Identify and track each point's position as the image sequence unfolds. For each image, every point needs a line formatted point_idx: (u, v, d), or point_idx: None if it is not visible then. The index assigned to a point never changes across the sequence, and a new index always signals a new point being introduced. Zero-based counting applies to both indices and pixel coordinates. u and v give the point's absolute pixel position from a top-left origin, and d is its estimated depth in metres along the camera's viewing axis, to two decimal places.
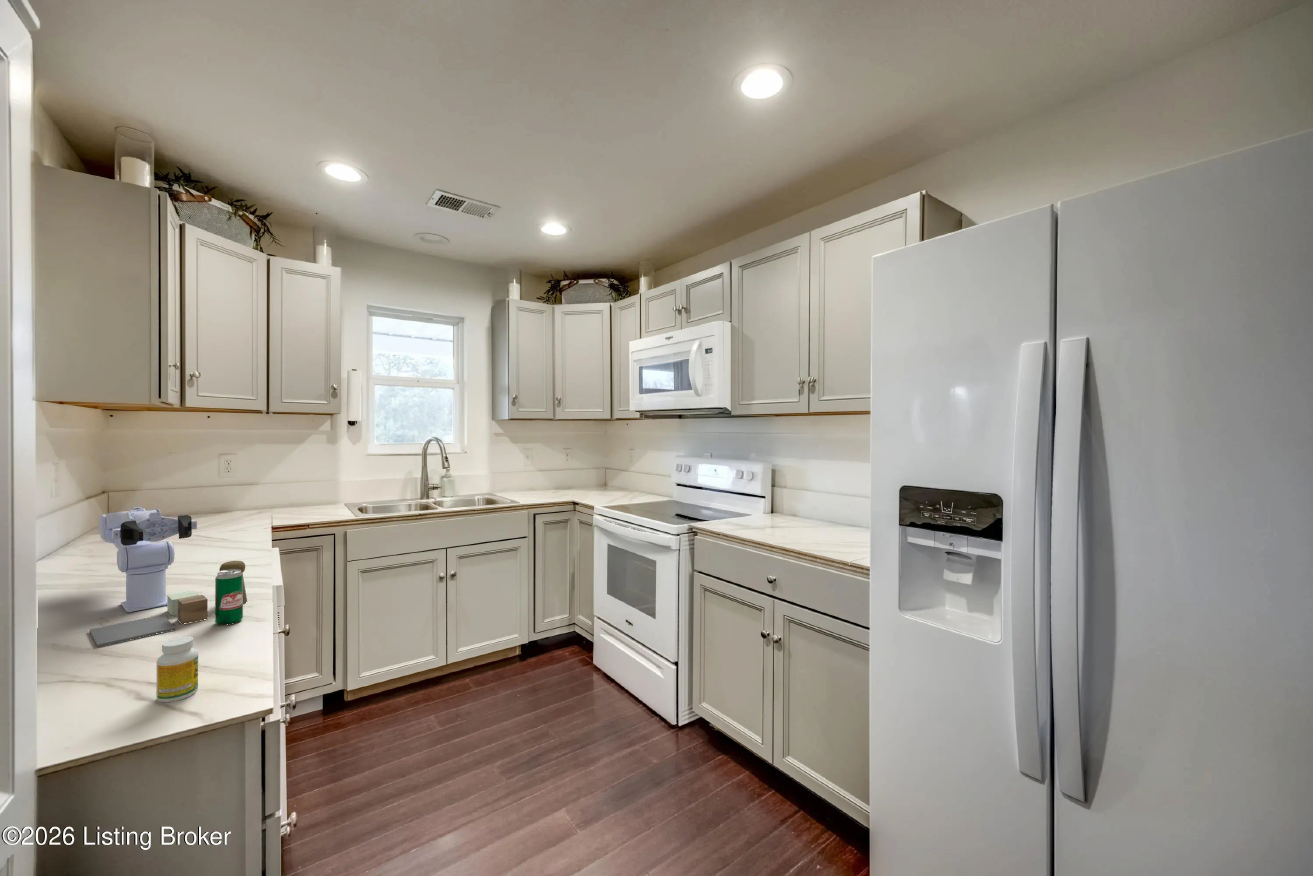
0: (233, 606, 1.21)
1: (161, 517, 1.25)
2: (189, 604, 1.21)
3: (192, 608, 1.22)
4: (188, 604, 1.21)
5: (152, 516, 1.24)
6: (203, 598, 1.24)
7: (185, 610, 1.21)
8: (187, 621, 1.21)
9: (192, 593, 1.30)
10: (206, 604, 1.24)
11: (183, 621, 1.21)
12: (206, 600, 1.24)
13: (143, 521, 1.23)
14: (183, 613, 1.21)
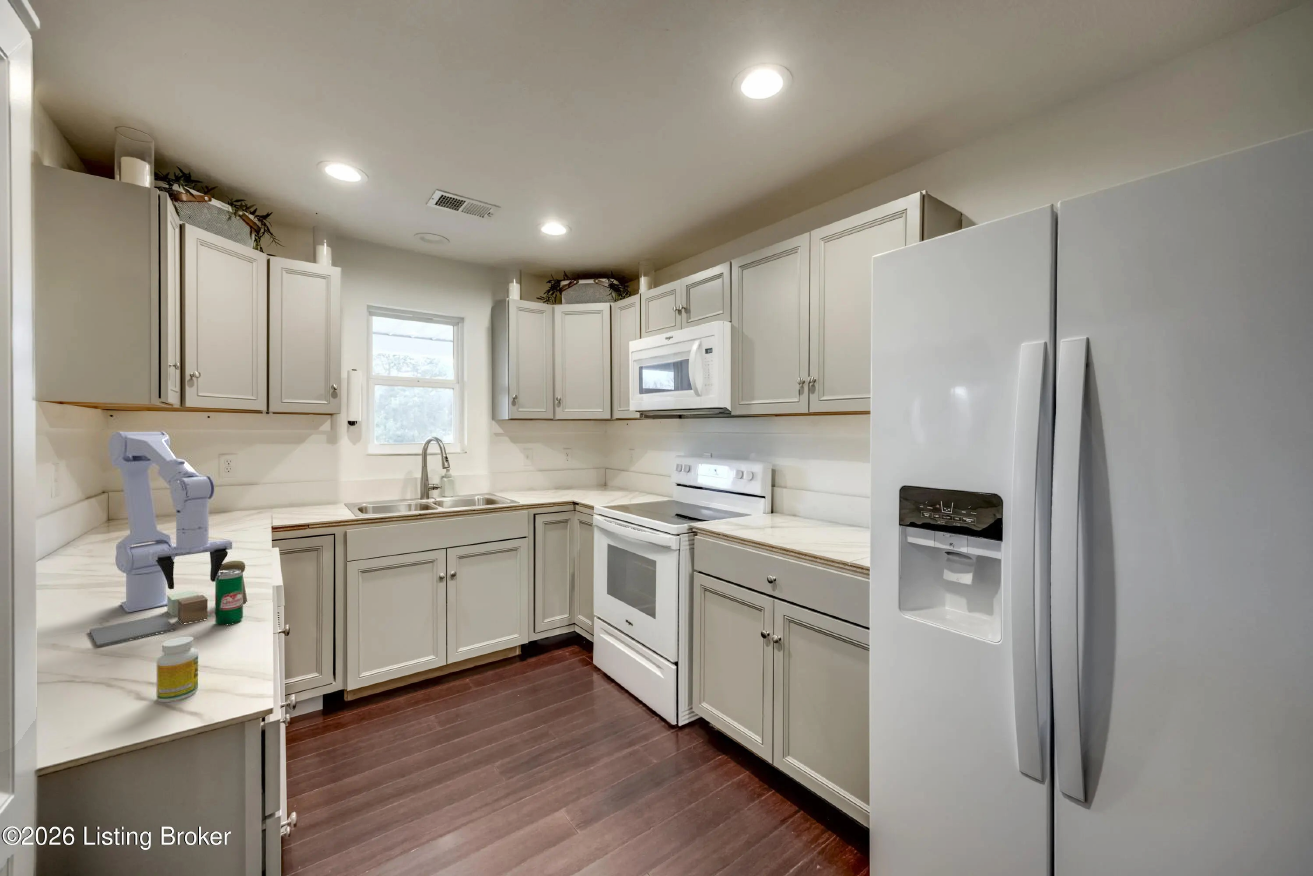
0: (233, 606, 1.21)
1: None
2: (189, 604, 1.21)
3: (192, 608, 1.22)
4: (188, 604, 1.21)
5: (192, 551, 1.21)
6: (203, 598, 1.24)
7: (185, 610, 1.21)
8: (187, 621, 1.21)
9: (192, 593, 1.30)
10: (206, 604, 1.24)
11: (183, 621, 1.21)
12: (206, 600, 1.24)
13: (182, 552, 1.20)
14: (183, 613, 1.21)
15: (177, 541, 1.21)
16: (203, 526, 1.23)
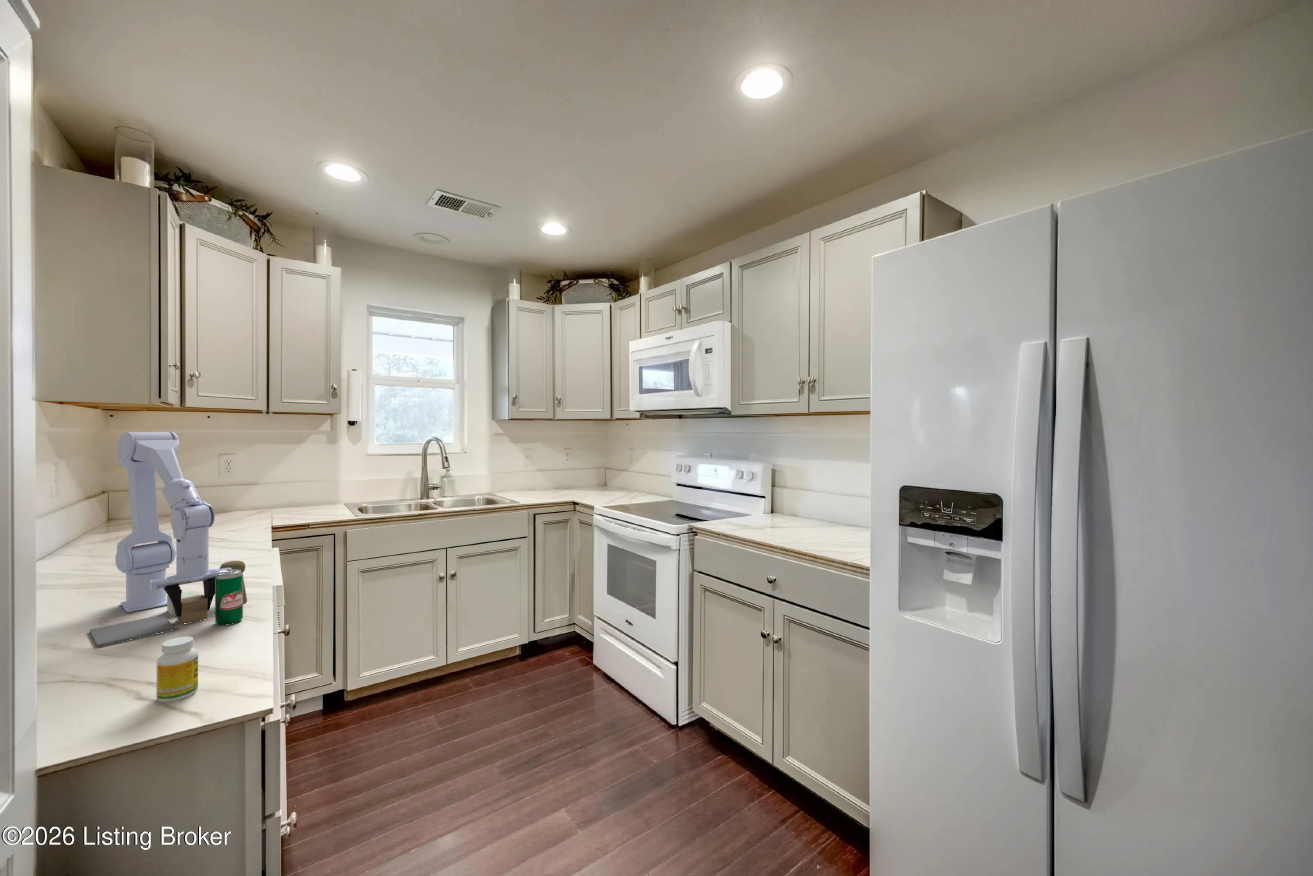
0: (233, 606, 1.21)
1: None
2: (189, 604, 1.21)
3: (192, 608, 1.22)
4: (188, 604, 1.21)
5: (192, 580, 1.21)
6: (203, 598, 1.24)
7: (185, 610, 1.21)
8: (187, 621, 1.21)
9: (192, 593, 1.30)
10: (206, 604, 1.24)
11: (183, 621, 1.21)
12: (206, 600, 1.24)
13: (182, 581, 1.20)
14: (183, 613, 1.21)
15: (177, 570, 1.21)
16: (203, 555, 1.23)
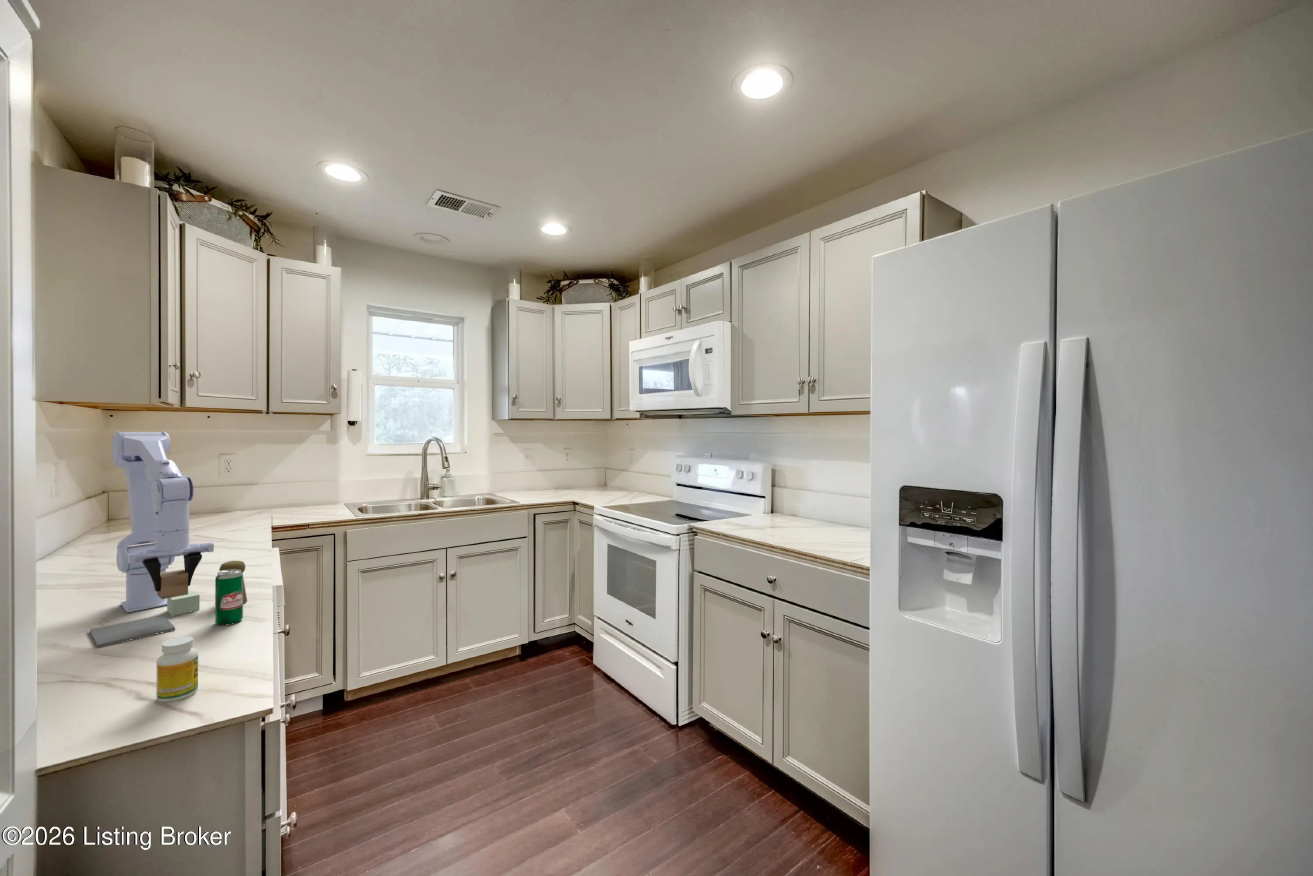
0: (233, 606, 1.21)
1: None
2: (169, 578, 1.19)
3: (172, 582, 1.19)
4: (167, 578, 1.18)
5: None
6: (183, 572, 1.21)
7: (165, 584, 1.18)
8: (167, 595, 1.18)
9: (192, 593, 1.30)
10: (187, 578, 1.21)
11: (162, 595, 1.18)
12: (187, 574, 1.21)
13: (162, 555, 1.18)
14: (162, 587, 1.18)
15: (156, 543, 1.18)
16: (181, 528, 1.20)
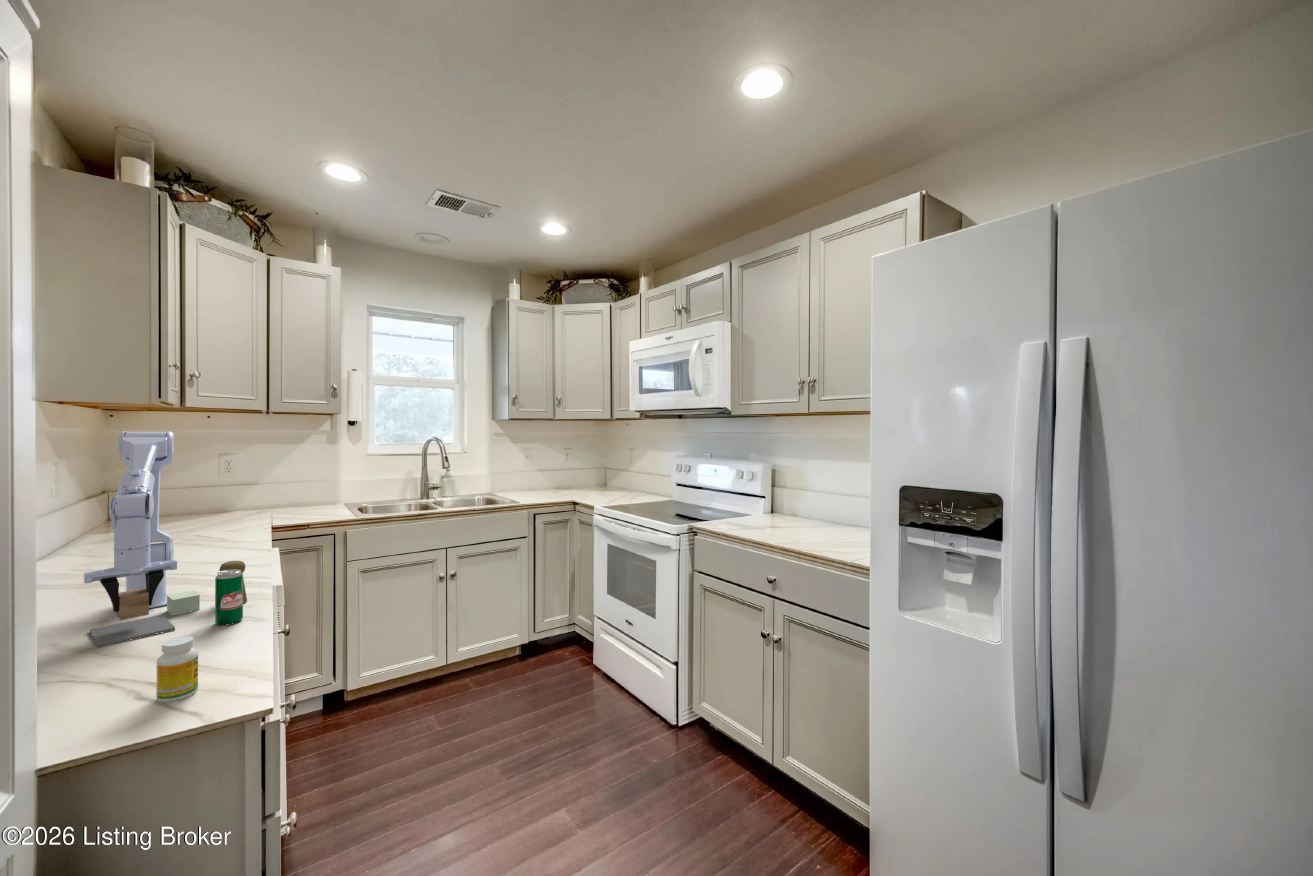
0: (233, 606, 1.21)
1: (141, 571, 1.15)
2: (128, 598, 1.14)
3: (131, 602, 1.14)
4: (126, 598, 1.14)
5: None
6: (144, 592, 1.17)
7: (123, 604, 1.13)
8: (125, 616, 1.14)
9: (192, 593, 1.30)
10: (147, 598, 1.16)
11: (121, 616, 1.13)
12: (147, 594, 1.16)
13: (120, 574, 1.13)
14: (121, 607, 1.13)
15: (115, 562, 1.13)
16: (135, 547, 1.14)
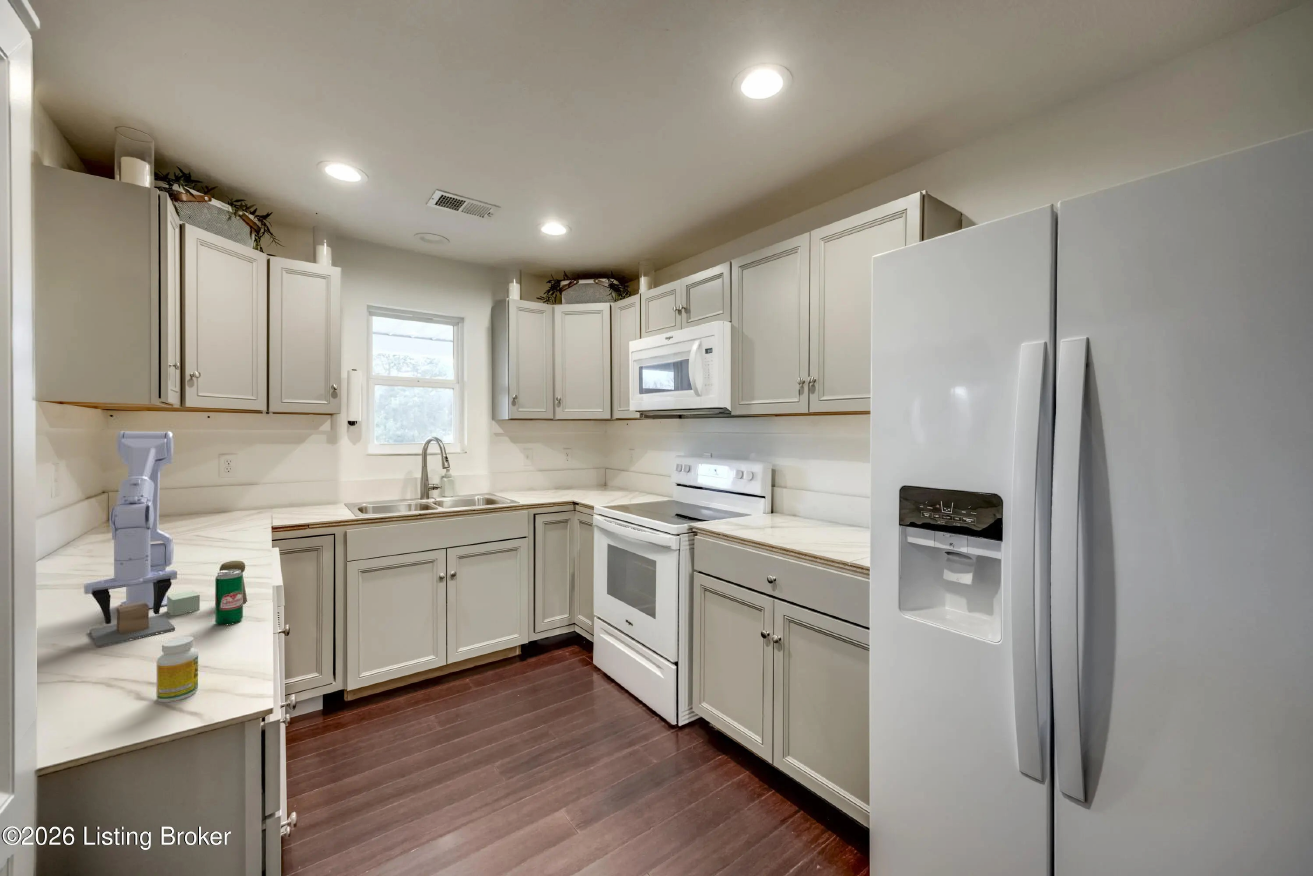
0: (233, 606, 1.21)
1: None
2: (128, 612, 1.14)
3: (131, 616, 1.14)
4: (126, 612, 1.14)
5: (131, 583, 1.14)
6: (144, 605, 1.17)
7: (123, 618, 1.13)
8: (126, 630, 1.14)
9: (192, 593, 1.30)
10: (147, 612, 1.16)
11: (121, 630, 1.13)
12: (147, 607, 1.16)
13: (120, 584, 1.13)
14: (121, 621, 1.13)
15: (115, 573, 1.13)
16: (135, 558, 1.14)
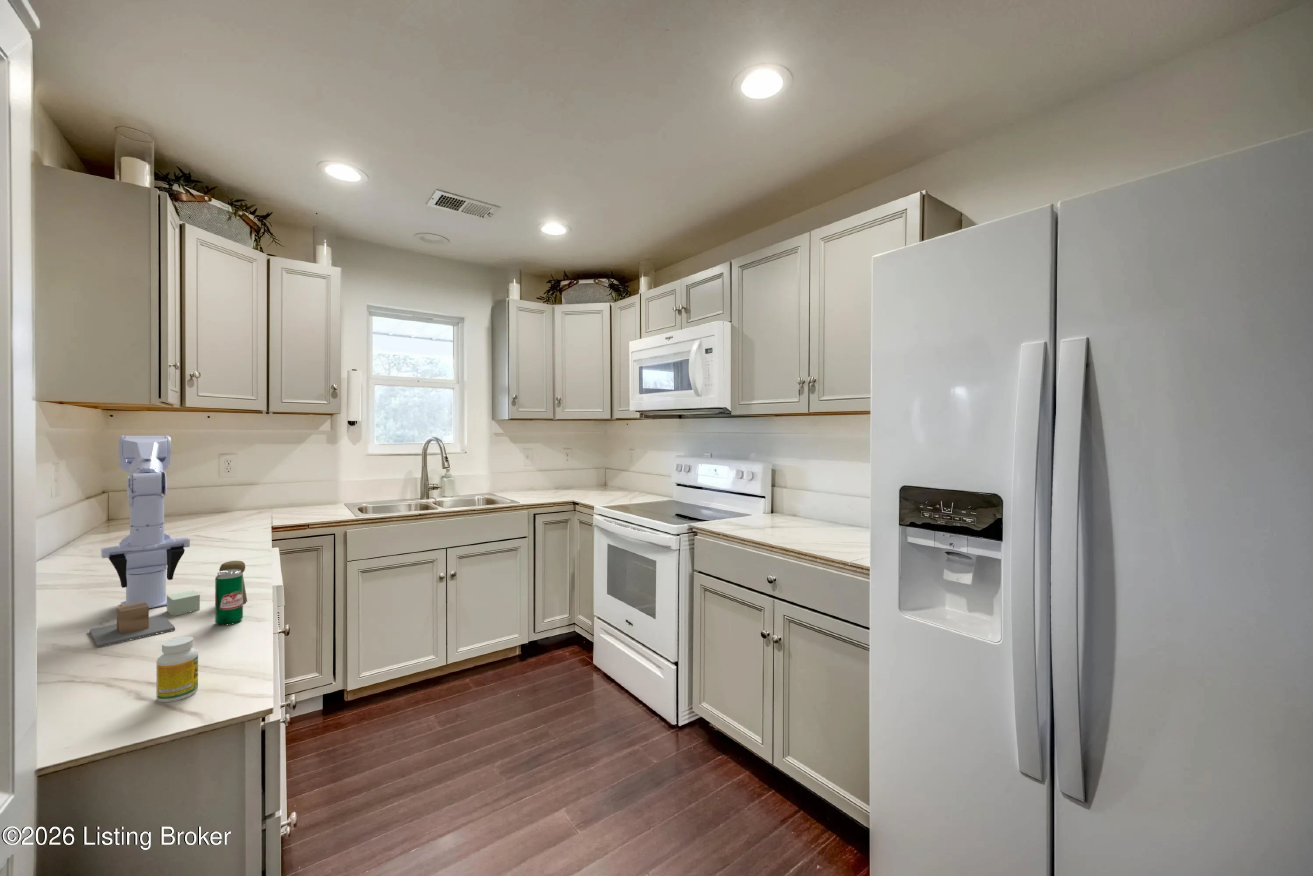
0: (233, 606, 1.21)
1: (155, 547, 1.20)
2: (128, 612, 1.14)
3: (131, 616, 1.14)
4: (126, 612, 1.14)
5: None
6: (144, 605, 1.17)
7: (123, 618, 1.13)
8: (126, 630, 1.14)
9: (192, 593, 1.30)
10: (147, 612, 1.16)
11: (121, 630, 1.13)
12: (147, 607, 1.16)
13: (136, 550, 1.18)
14: (121, 621, 1.13)
15: (130, 538, 1.18)
16: (152, 524, 1.19)
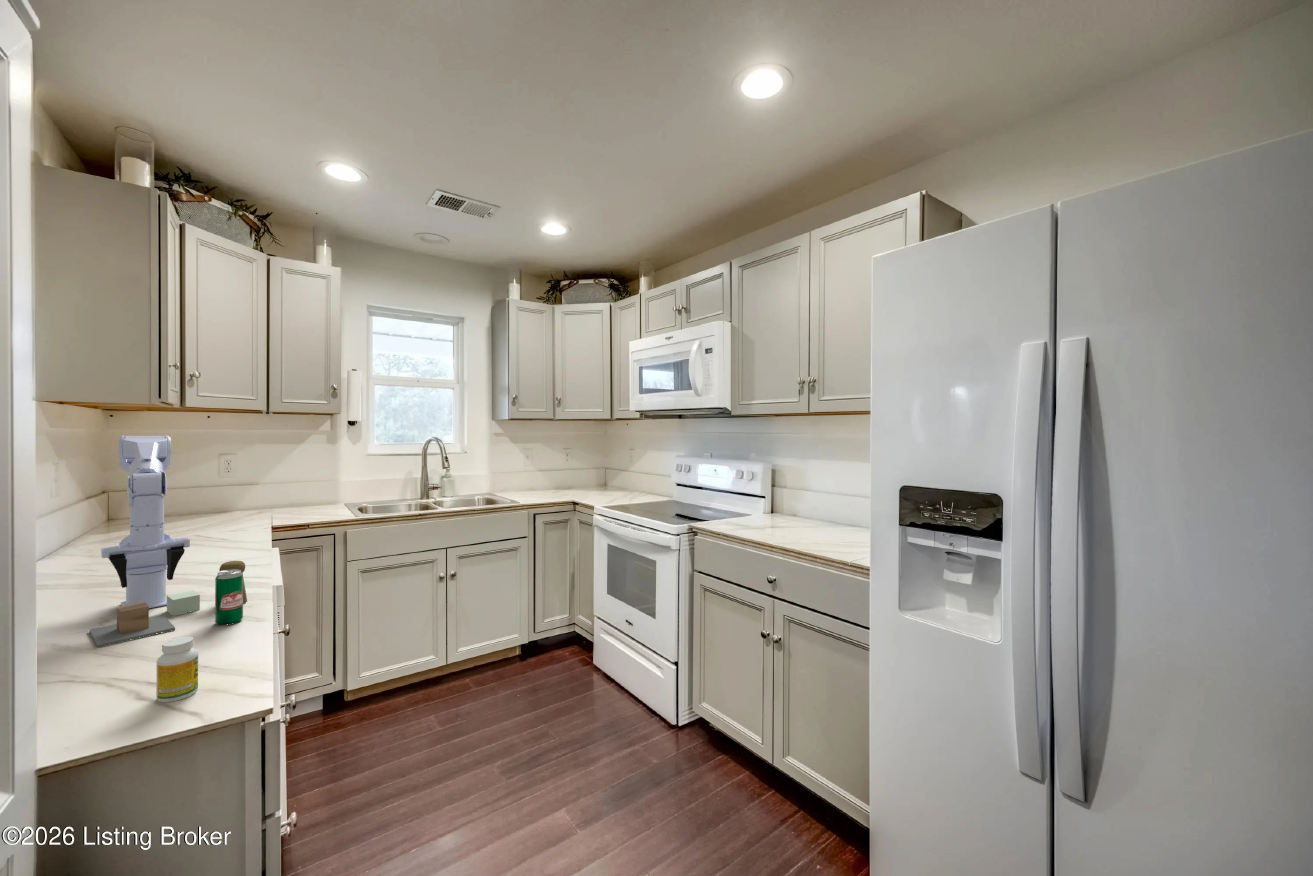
0: (233, 606, 1.21)
1: (155, 547, 1.20)
2: (128, 612, 1.14)
3: (131, 616, 1.14)
4: (126, 612, 1.14)
5: None
6: (144, 605, 1.17)
7: (123, 618, 1.13)
8: (126, 630, 1.14)
9: (191, 593, 1.30)
10: (147, 612, 1.16)
11: (121, 630, 1.13)
12: (147, 607, 1.16)
13: (136, 549, 1.18)
14: (121, 621, 1.13)
15: (130, 538, 1.18)
16: (152, 524, 1.19)
